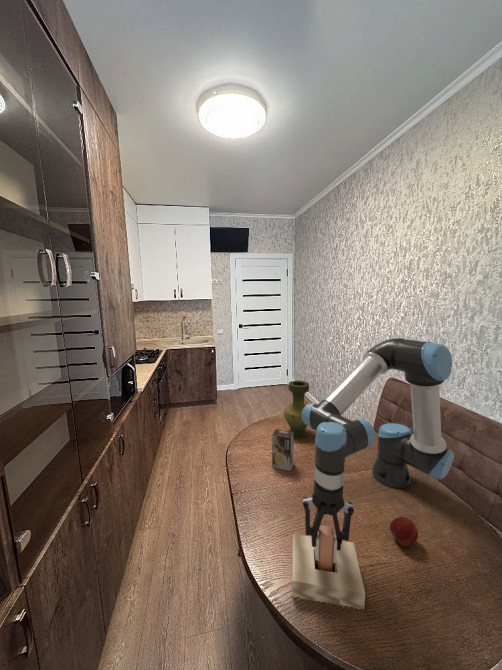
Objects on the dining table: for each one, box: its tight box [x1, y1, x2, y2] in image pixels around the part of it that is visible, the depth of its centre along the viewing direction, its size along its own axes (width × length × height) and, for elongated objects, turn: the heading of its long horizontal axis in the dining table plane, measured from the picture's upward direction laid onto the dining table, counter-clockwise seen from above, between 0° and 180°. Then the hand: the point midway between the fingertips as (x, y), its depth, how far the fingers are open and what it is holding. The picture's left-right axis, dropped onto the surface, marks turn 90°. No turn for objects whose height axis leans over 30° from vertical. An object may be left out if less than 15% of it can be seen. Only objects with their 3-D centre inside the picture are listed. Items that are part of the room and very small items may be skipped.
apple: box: [389, 516, 419, 547], centre depth 85 cm, size 7×8×8 cm
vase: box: [283, 380, 310, 439], centre depth 151 cm, size 16×16×30 cm
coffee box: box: [271, 428, 295, 472], centre depth 124 cm, size 9×6×16 cm
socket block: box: [291, 533, 366, 609], centre depth 75 cm, size 18×14×5 cm
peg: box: [316, 525, 335, 572], centre depth 74 cm, size 4×4×13 cm
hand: (325, 556), depth 75 cm, fingers closed on peg, 4 cm apart
